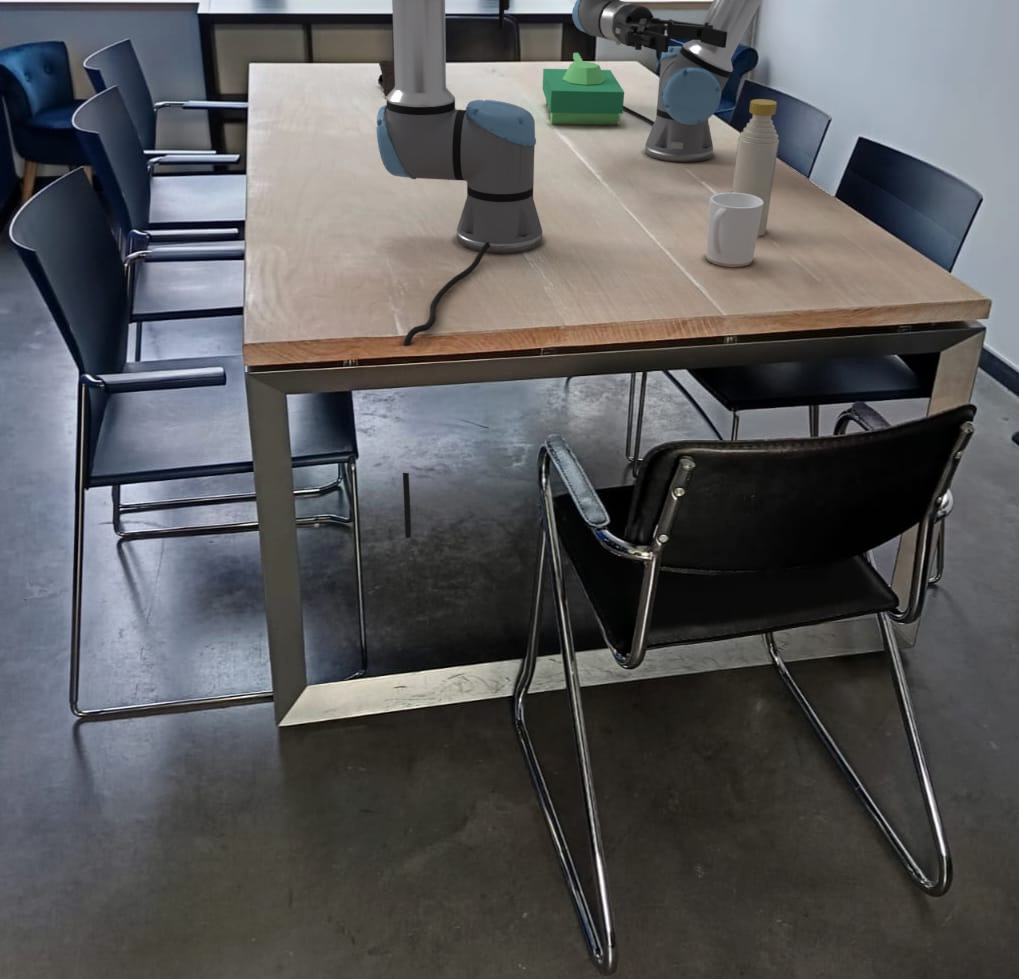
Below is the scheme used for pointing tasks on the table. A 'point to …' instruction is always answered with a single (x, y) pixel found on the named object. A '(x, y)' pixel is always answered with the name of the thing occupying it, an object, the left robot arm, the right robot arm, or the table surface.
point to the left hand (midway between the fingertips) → (468, 26)
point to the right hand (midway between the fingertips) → (696, 42)
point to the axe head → (387, 76)
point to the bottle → (757, 163)
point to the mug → (733, 228)
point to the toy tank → (583, 94)
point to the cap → (763, 107)
